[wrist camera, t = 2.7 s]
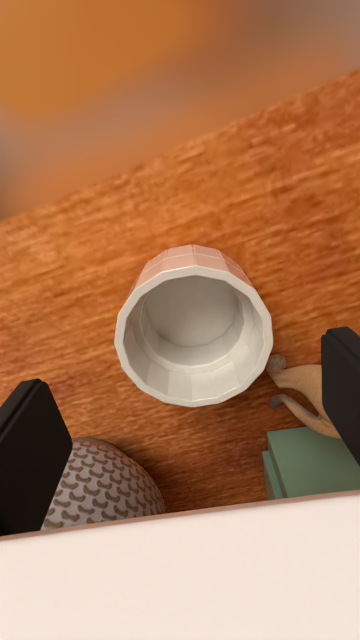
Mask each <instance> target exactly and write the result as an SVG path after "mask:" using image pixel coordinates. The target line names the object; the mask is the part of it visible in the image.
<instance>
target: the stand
mask: <svg viewBox="0 0 360 640" xmlns="http://www.w3.org/2000/svg"><path fill="white" fill-rule="evenodd" d="M267 442H268V451H262V460H263V469H264V477H265V486H266V494H267V500H275V499H283V498H291V497H299V496H307V495H315V494H323V493H332V492H341V491H350V490H359V489H360V466H359V465H358V463H357V462H356V460H355V459H354V457H353V455H352V454H351V452H350V451H349V449H348V448H347V446H346V444H345V443H344V441H343V440H342V439H339V438H333V437H329V436H325V435H322V434H320V433H318V432H316V431H314V430H313V429H311V428H309V427H308V426H305V427H298V428H291V429H283V430H276V431H269V432H267Z"/></svg>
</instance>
